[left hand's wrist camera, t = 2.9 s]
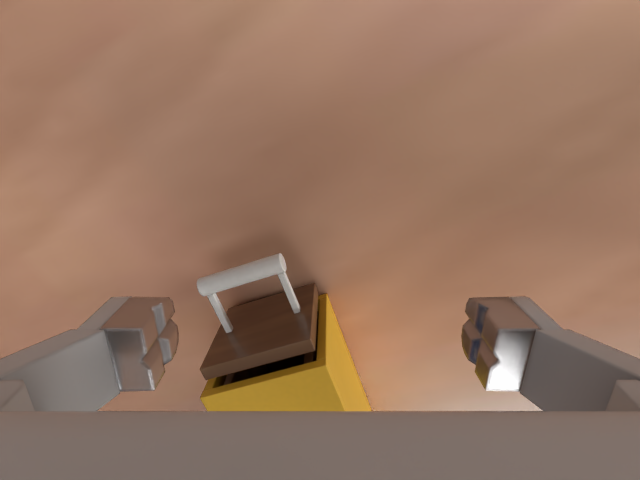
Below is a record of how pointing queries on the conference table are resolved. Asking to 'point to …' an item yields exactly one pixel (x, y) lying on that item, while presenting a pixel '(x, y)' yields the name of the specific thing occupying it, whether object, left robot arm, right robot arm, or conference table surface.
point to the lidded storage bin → (298, 380)
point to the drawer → (260, 324)
